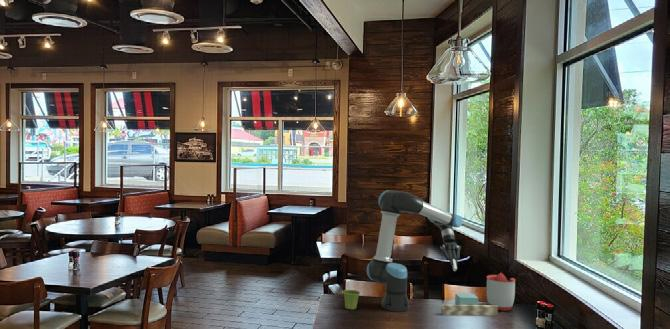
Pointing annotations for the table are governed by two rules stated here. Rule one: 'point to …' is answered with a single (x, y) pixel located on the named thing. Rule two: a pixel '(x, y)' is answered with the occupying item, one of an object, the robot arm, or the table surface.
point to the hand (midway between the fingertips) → (455, 269)
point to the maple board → (470, 310)
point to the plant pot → (351, 298)
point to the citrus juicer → (500, 291)
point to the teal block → (466, 299)
